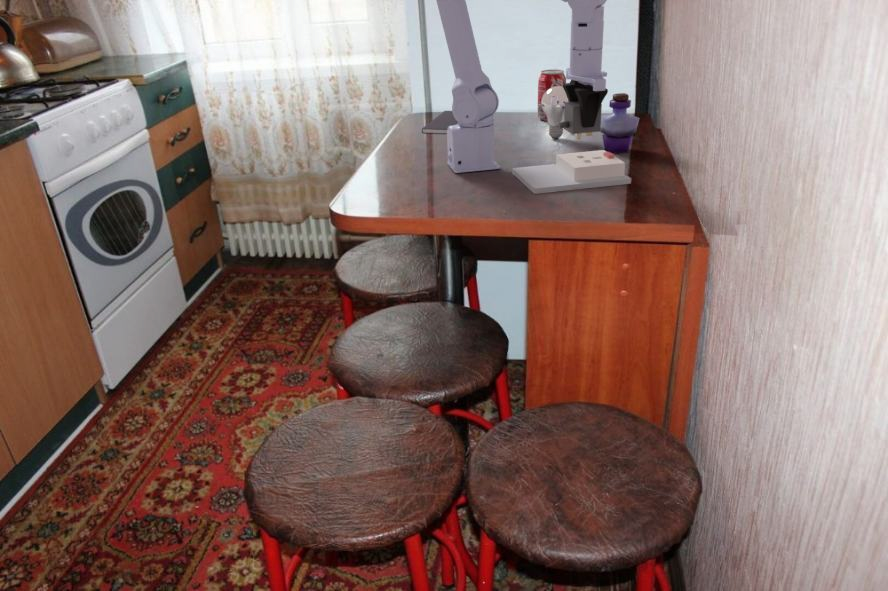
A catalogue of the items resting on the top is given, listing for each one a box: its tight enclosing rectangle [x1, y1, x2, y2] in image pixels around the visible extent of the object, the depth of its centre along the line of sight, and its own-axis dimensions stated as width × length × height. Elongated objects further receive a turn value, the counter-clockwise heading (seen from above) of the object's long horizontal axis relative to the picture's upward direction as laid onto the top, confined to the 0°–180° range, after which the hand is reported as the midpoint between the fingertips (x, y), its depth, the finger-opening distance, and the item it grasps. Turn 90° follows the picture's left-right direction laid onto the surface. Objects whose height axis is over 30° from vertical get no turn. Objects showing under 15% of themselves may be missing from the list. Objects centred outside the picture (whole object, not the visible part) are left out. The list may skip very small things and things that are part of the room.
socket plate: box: [555, 149, 626, 181], centre depth 139 cm, size 10×10×3 cm
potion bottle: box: [600, 92, 641, 154], centre depth 154 cm, size 9×9×12 cm
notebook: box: [421, 110, 458, 134], centre depth 186 cm, size 13×2×21 cm
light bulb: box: [541, 86, 569, 140], centre depth 165 cm, size 7×7×12 cm
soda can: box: [537, 69, 567, 122], centre depth 183 cm, size 7×7×12 cm
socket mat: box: [511, 163, 632, 195], centre depth 139 cm, size 19×14×1 cm
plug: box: [559, 101, 603, 140], centre depth 135 cm, size 4×7×6 cm, turn 102°
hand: (583, 124), depth 135 cm, fingers closed on plug, 4 cm apart
